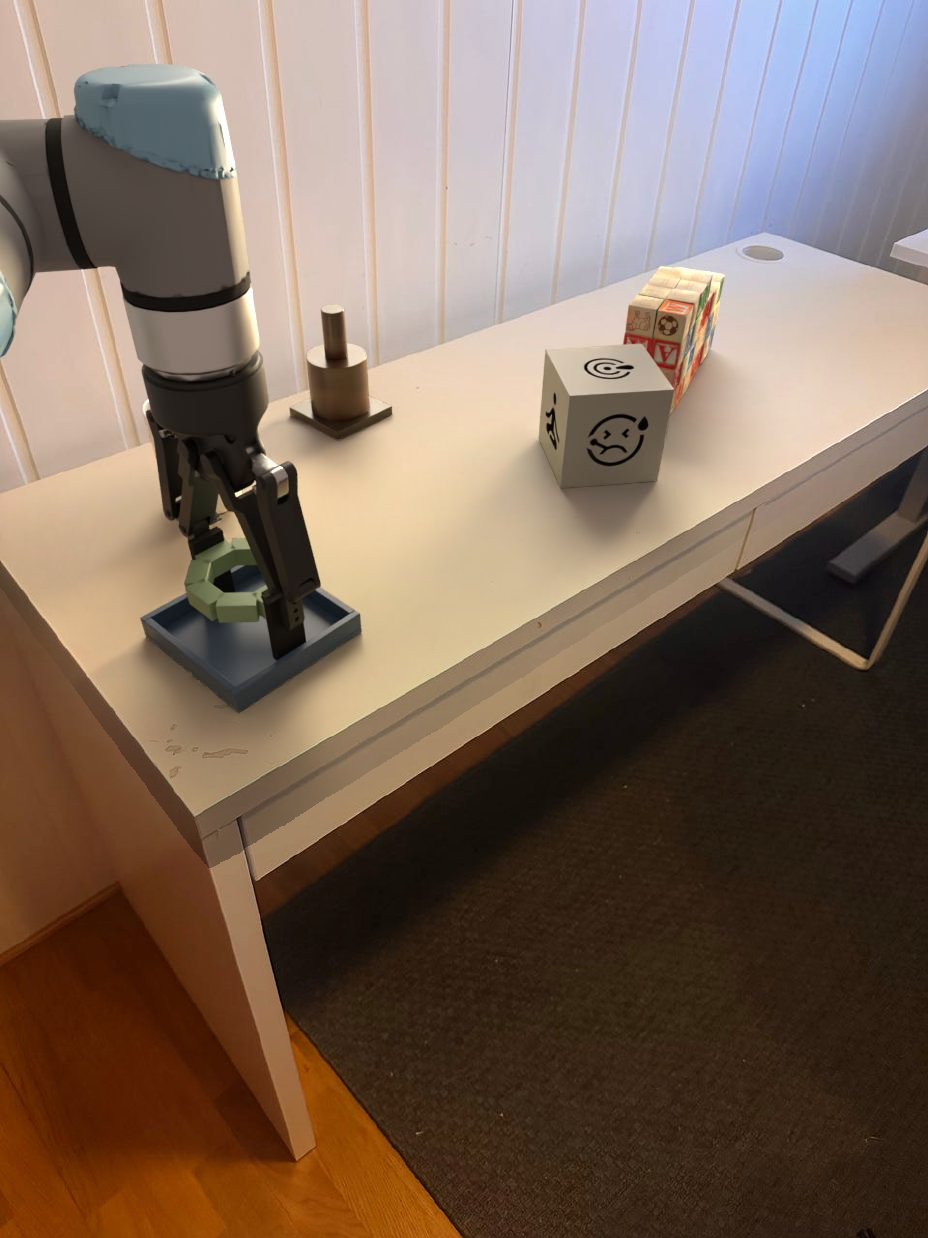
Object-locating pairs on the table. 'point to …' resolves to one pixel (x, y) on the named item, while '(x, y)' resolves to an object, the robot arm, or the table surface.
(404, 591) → the table surface
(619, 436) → the icon cube
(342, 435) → the peg stand
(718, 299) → the stack of blocks
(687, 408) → the table surface
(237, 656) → the tray
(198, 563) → the ring
